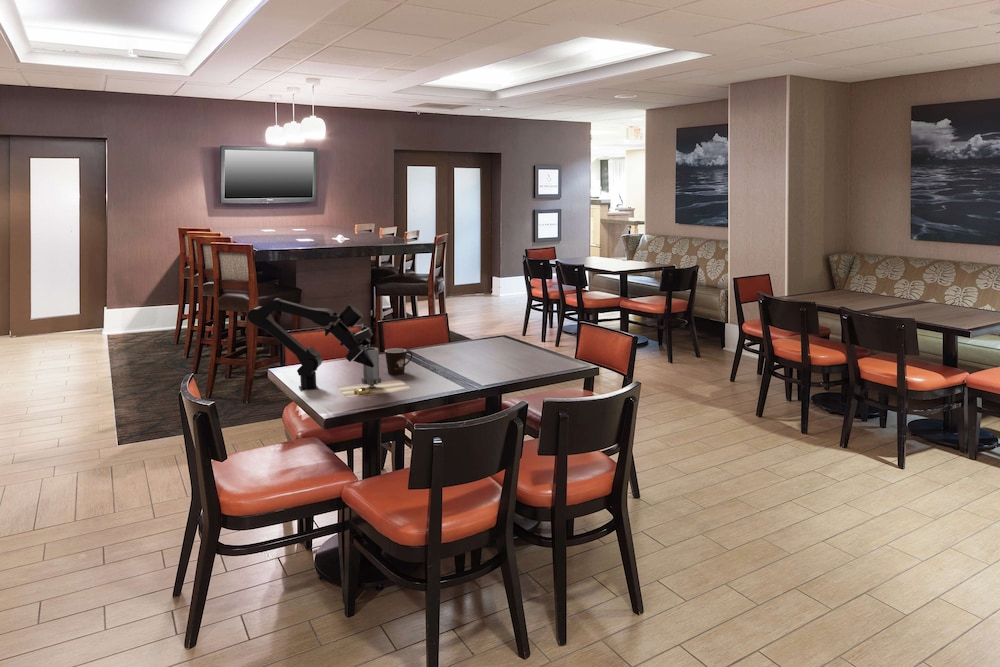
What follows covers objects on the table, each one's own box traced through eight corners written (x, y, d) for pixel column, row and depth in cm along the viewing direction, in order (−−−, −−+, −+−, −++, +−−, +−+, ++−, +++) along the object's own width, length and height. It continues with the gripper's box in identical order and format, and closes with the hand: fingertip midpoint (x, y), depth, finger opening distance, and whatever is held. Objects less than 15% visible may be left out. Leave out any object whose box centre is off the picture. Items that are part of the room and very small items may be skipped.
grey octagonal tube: (359, 385, 278) (358, 351, 276) (363, 380, 286) (362, 346, 283) (379, 385, 278) (378, 351, 276) (383, 380, 285) (382, 347, 283)
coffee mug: (386, 377, 299) (386, 353, 298) (384, 372, 308) (383, 349, 306) (415, 375, 302) (415, 351, 301) (412, 371, 311) (411, 347, 309)
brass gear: (352, 391, 277) (351, 386, 276) (369, 389, 279) (369, 384, 279) (356, 396, 271) (356, 391, 270) (374, 394, 273) (374, 389, 273)
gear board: (337, 388, 284) (337, 386, 283) (400, 381, 294) (400, 380, 293) (346, 398, 269) (346, 397, 269) (413, 391, 279) (413, 389, 279)
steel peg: (367, 387, 283) (367, 377, 282) (374, 386, 284) (374, 377, 283) (369, 388, 280) (368, 379, 280) (376, 388, 282) (376, 378, 281)
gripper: (354, 325, 268) (385, 355, 270) (364, 316, 287) (393, 345, 289) (332, 346, 270) (364, 376, 272) (344, 336, 288) (373, 364, 290)
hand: (374, 364), depth 281 cm, fingers closed on grey octagonal tube, 5 cm apart
